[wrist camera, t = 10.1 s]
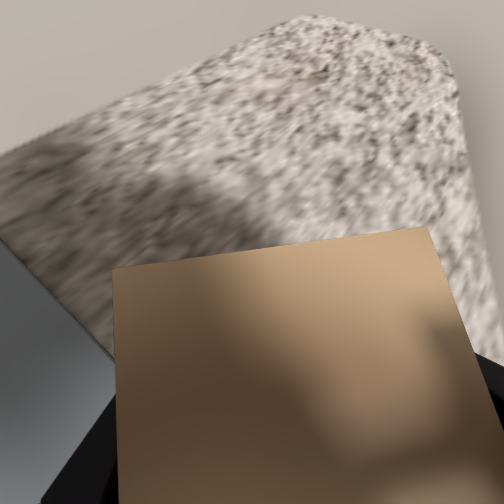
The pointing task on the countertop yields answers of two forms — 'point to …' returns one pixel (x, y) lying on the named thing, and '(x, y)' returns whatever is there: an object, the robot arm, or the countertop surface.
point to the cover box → (301, 379)
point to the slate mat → (43, 383)
